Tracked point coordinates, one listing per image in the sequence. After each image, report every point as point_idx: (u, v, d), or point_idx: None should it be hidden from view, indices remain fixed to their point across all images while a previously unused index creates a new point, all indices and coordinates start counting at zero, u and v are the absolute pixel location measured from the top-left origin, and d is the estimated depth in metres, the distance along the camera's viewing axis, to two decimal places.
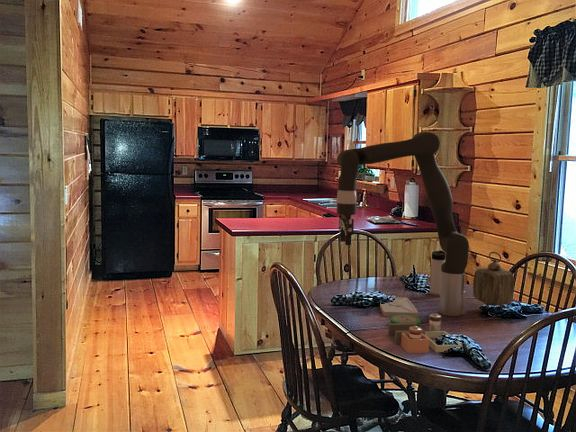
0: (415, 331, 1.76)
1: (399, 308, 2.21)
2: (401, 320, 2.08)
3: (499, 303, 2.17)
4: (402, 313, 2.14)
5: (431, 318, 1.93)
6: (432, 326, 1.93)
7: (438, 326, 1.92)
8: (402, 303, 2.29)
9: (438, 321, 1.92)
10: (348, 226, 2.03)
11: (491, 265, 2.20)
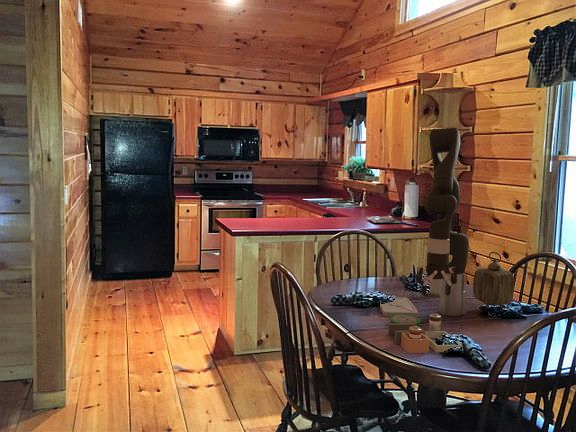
0: (415, 331, 1.76)
1: (399, 308, 2.21)
2: (401, 320, 2.08)
3: (499, 303, 2.17)
4: (402, 313, 2.14)
5: (431, 318, 1.93)
6: (432, 326, 1.93)
7: (438, 326, 1.92)
8: (402, 303, 2.28)
9: (438, 321, 1.92)
10: None
11: (491, 265, 2.20)
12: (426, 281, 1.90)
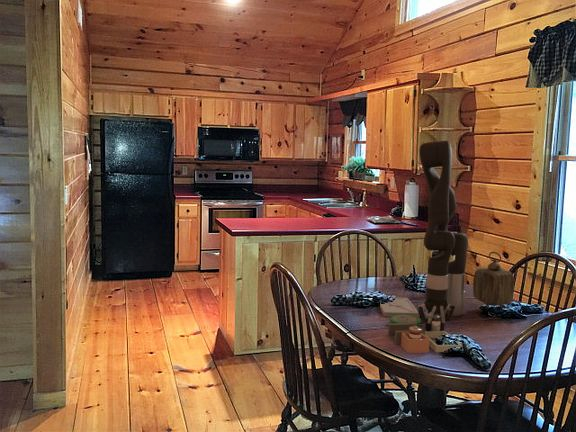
0: (415, 331, 1.76)
1: (399, 308, 2.20)
2: (401, 320, 2.08)
3: (499, 303, 2.17)
4: (402, 313, 2.14)
5: None
6: (432, 326, 1.93)
7: (438, 326, 1.92)
8: (402, 303, 2.28)
9: (438, 321, 1.92)
10: None
11: (491, 265, 2.20)
12: (429, 318, 1.92)
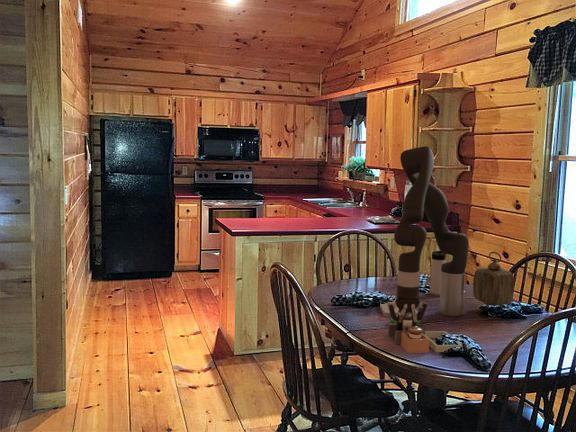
0: (415, 331, 1.76)
1: None
2: None
3: (499, 303, 2.17)
4: None
5: None
6: (403, 325, 1.85)
7: (410, 325, 1.84)
8: None
9: (409, 320, 1.84)
10: None
11: (491, 265, 2.20)
12: (400, 317, 1.84)
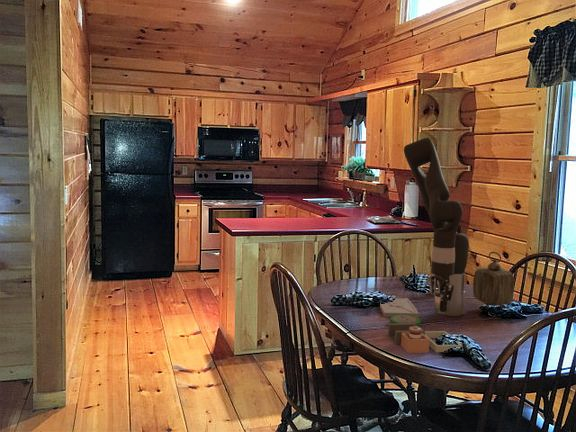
0: (415, 331, 1.76)
1: (399, 309, 2.20)
2: (401, 320, 2.08)
3: (499, 303, 2.17)
4: (402, 314, 2.13)
5: None
6: None
7: None
8: (402, 304, 2.28)
9: None
10: None
11: (491, 265, 2.20)
12: None
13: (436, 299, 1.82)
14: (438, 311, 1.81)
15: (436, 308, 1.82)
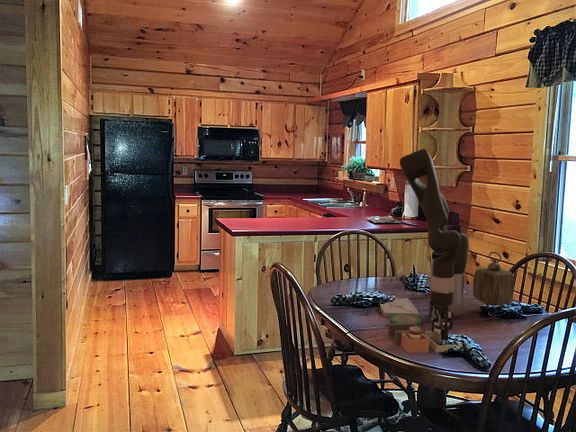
0: (415, 331, 1.76)
1: (400, 309, 2.19)
2: (401, 320, 2.08)
3: (499, 303, 2.17)
4: (403, 314, 2.13)
5: None
6: None
7: None
8: (403, 304, 2.27)
9: None
10: None
11: (491, 265, 2.20)
12: None
13: (435, 331, 1.83)
14: (437, 343, 1.83)
15: (435, 340, 1.83)
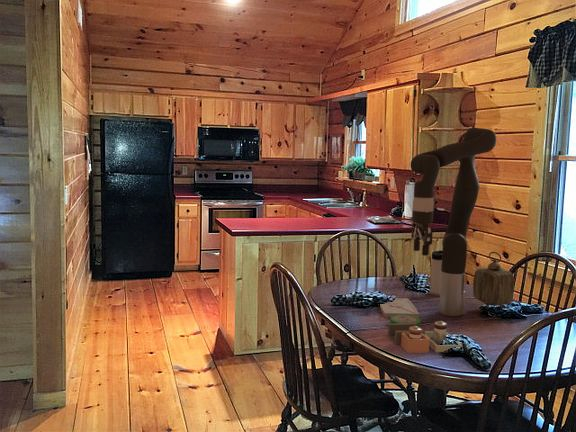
0: (415, 331, 1.76)
1: (400, 309, 2.19)
2: (401, 320, 2.08)
3: (499, 303, 2.17)
4: (403, 314, 2.13)
5: (445, 327, 1.82)
6: (445, 334, 1.82)
7: None
8: (403, 304, 2.27)
9: None
10: None
11: (491, 265, 2.20)
12: None
13: (435, 331, 1.83)
14: (437, 343, 1.83)
15: (435, 340, 1.83)
